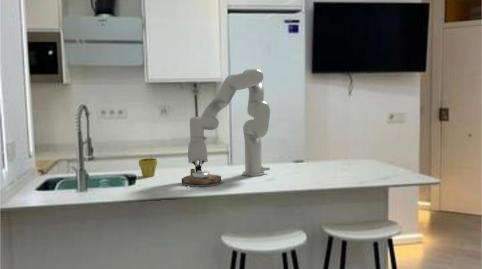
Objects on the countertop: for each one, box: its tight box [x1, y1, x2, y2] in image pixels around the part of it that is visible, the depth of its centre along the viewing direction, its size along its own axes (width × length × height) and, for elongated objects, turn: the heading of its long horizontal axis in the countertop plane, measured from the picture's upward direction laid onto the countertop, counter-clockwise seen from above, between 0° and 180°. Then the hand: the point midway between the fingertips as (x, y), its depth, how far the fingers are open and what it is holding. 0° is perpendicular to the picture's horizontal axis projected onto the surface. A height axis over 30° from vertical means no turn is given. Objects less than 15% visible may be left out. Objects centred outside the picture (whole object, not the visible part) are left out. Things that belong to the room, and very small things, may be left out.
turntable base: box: [181, 177, 224, 188], centre depth 261 cm, size 22×22×3 cm
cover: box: [193, 169, 211, 179], centre depth 260 cm, size 9×9×4 cm
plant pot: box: [138, 157, 158, 178], centre depth 283 cm, size 10×10×10 cm
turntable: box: [182, 168, 222, 185], centre depth 261 cm, size 20×20×5 cm
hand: (198, 172), depth 269 cm, fingers closed
